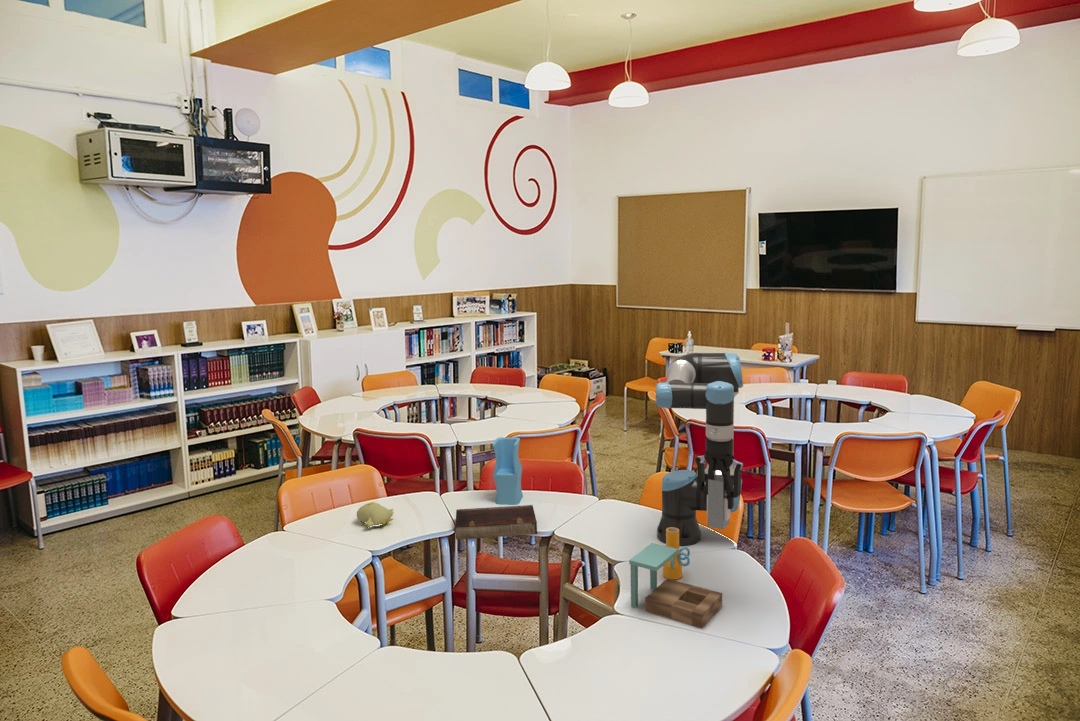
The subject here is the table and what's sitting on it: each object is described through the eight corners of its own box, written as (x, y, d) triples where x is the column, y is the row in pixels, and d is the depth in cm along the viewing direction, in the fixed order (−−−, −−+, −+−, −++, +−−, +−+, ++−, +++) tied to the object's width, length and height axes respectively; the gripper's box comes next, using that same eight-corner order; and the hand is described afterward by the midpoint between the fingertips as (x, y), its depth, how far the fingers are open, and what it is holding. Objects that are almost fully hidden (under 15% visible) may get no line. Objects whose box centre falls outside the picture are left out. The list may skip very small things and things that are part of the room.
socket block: (667, 591, 214) (667, 578, 214) (722, 606, 205) (722, 593, 204) (645, 611, 203) (645, 597, 203) (702, 628, 193) (702, 614, 193)
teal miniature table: (652, 586, 217) (652, 542, 215) (678, 594, 212) (678, 549, 210) (629, 606, 206) (629, 560, 204) (656, 614, 201) (656, 567, 199)
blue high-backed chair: (494, 504, 290) (491, 443, 286) (499, 495, 300) (497, 437, 296) (518, 504, 289) (516, 444, 285) (523, 496, 298) (521, 437, 294)
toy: (373, 517, 262) (344, 504, 269) (373, 538, 265) (344, 524, 272) (401, 502, 274) (373, 489, 281) (400, 522, 277) (372, 509, 284)
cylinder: (689, 585, 217) (690, 538, 215) (654, 583, 219) (654, 536, 217) (689, 568, 229) (690, 523, 227) (656, 566, 231) (656, 521, 229)
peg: (713, 521, 209) (714, 474, 207) (728, 524, 206) (729, 477, 204) (707, 526, 206) (708, 479, 203) (722, 529, 203) (723, 481, 201)
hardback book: (532, 516, 278) (532, 503, 277) (537, 535, 259) (536, 522, 258) (457, 520, 275) (456, 508, 274) (455, 540, 257) (455, 527, 256)
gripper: (684, 436, 204) (684, 515, 208) (745, 445, 194) (743, 528, 198) (695, 430, 210) (695, 507, 214) (755, 439, 200) (753, 519, 204)
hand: (718, 517), depth 206 cm, fingers closed on peg, 4 cm apart
